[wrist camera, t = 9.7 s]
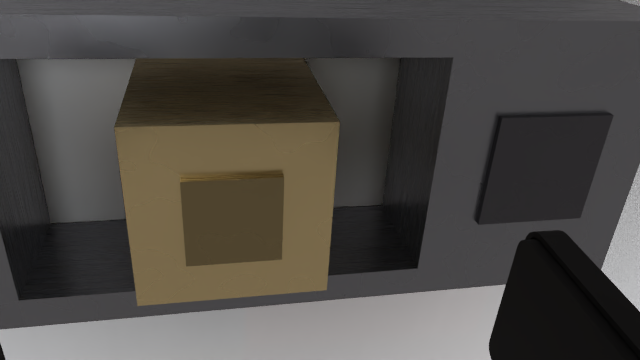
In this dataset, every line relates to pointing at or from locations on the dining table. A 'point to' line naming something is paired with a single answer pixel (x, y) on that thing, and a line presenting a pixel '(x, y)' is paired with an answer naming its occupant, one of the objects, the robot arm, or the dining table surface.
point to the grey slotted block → (405, 146)
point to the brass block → (226, 178)
